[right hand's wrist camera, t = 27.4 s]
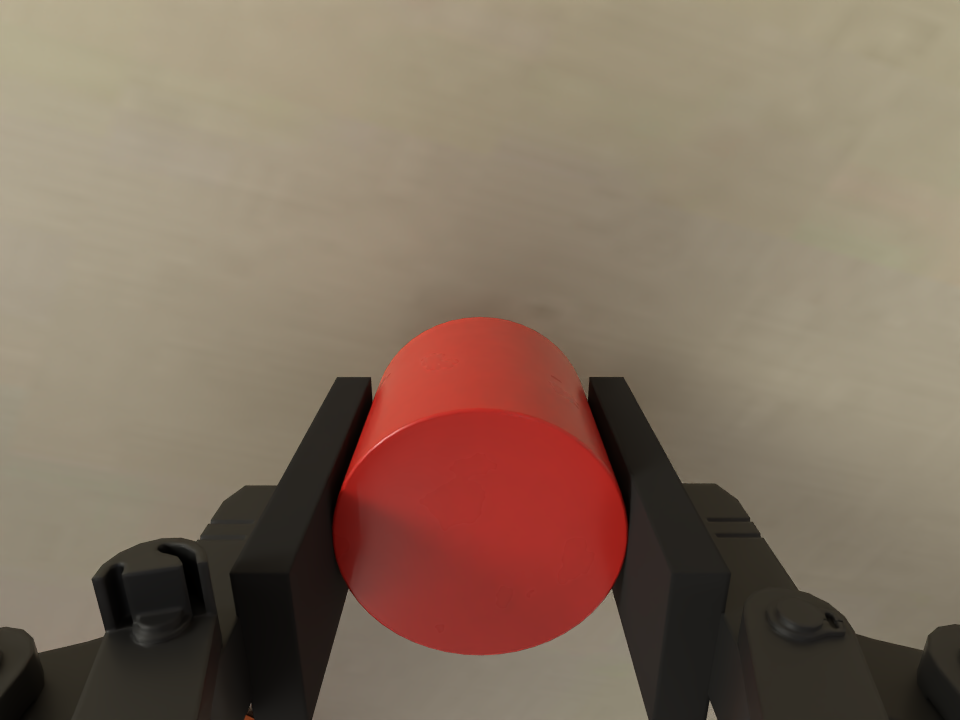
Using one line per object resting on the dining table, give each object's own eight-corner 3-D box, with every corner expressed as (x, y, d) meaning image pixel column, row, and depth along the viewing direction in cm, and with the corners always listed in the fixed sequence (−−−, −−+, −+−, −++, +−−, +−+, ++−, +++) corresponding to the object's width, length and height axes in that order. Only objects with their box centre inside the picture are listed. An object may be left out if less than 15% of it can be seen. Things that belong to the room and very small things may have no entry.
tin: (520, 276, 14) (539, 353, 9) (621, 449, 15) (677, 586, 11) (333, 382, 14) (270, 498, 10) (445, 536, 16) (432, 694, 12)
